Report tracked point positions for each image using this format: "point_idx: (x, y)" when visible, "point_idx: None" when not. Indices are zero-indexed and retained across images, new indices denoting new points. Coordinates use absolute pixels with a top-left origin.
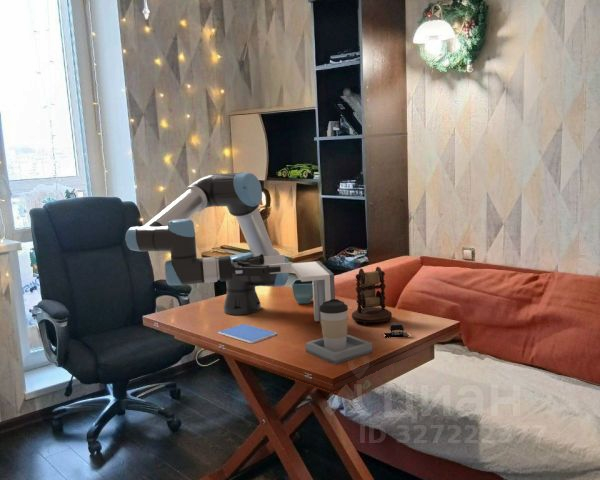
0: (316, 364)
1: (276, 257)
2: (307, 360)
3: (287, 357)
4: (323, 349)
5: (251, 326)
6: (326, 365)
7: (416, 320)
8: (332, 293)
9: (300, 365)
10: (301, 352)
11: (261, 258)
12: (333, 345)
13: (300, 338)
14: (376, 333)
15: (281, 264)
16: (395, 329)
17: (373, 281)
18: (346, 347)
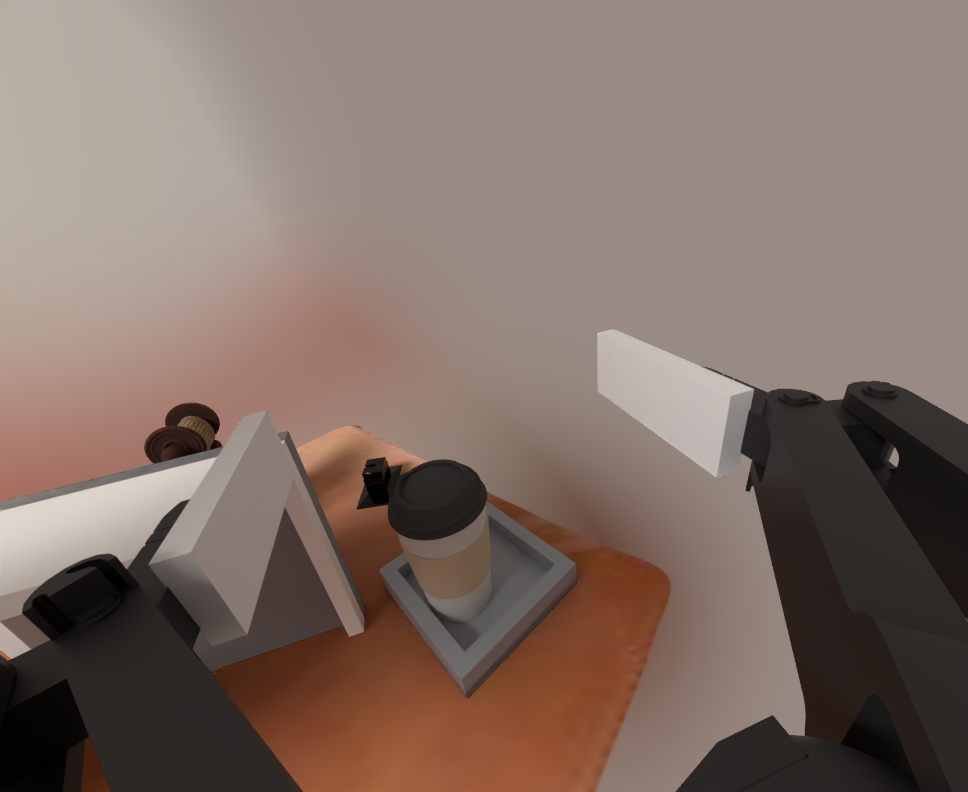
0: (587, 637)
1: (252, 463)
2: (556, 677)
3: (532, 783)
4: (533, 600)
5: None
6: (589, 605)
7: (303, 465)
8: (313, 497)
9: (610, 697)
10: (473, 719)
11: (160, 613)
12: (490, 579)
13: (300, 758)
14: (354, 519)
15: (661, 353)
16: (385, 474)
17: (210, 443)
18: None
